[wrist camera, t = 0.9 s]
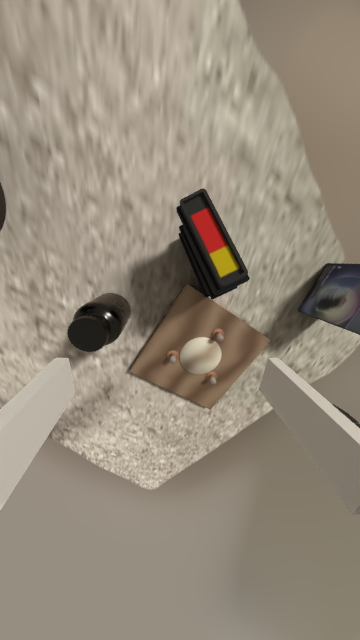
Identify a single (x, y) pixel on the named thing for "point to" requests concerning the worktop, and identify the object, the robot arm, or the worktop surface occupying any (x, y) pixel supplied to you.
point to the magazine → (209, 246)
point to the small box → (336, 297)
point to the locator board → (198, 349)
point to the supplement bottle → (99, 322)
